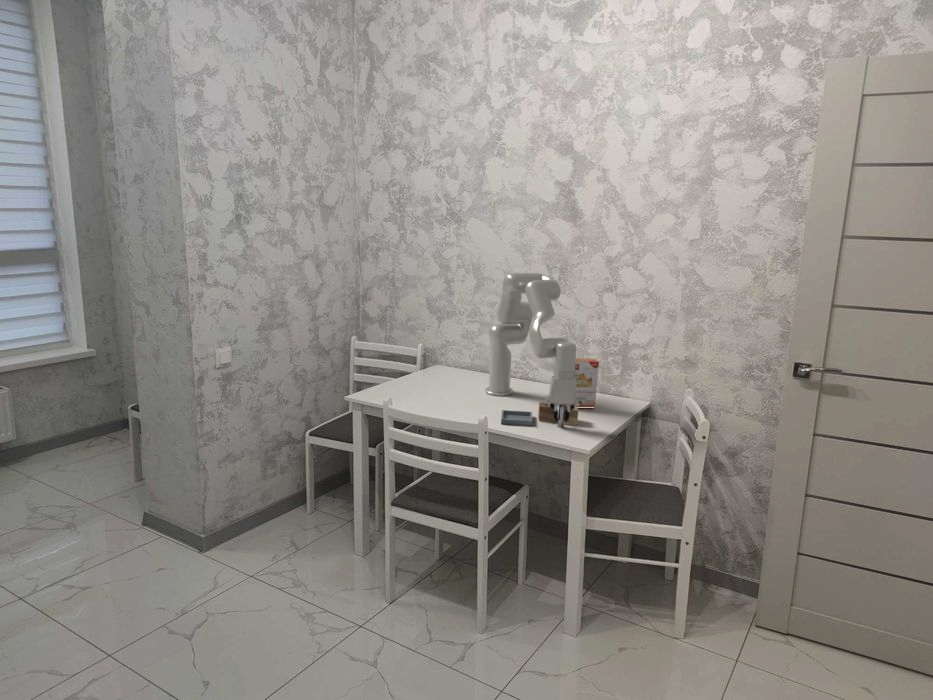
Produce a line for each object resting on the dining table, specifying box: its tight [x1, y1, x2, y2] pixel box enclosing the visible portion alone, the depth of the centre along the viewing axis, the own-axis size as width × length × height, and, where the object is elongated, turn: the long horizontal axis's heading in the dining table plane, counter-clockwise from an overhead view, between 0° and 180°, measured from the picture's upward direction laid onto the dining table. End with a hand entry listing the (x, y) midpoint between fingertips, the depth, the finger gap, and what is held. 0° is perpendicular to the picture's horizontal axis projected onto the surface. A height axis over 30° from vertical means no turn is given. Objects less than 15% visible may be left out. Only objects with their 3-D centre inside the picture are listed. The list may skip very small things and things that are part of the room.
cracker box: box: [565, 357, 600, 408], centre depth 271 cm, size 14×6×21 cm, turn 95°
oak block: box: [564, 405, 579, 425], centre depth 253 cm, size 6×6×6 cm
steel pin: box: [557, 404, 565, 429], centre depth 246 cm, size 2×2×9 cm
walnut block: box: [538, 401, 556, 423], centre depth 255 cm, size 6×6×6 cm
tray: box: [500, 409, 533, 427], centre depth 253 cm, size 12×12×2 cm
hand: (561, 420), depth 246 cm, fingers open, 3 cm apart
